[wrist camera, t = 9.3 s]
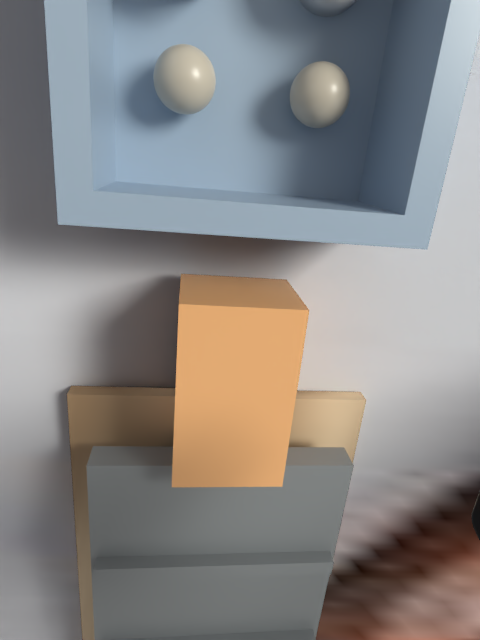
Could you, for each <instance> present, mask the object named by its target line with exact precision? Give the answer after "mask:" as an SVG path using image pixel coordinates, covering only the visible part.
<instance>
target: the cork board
mask: <svg viewBox="0 0 480 640" xmlns="http://www.w3.org/2000/svg"><path fill="white" fill-rule="evenodd" d="M67 404H68V419H69V435H70V451H71V467H72V483H73V499H74V515H75V531H76V547H77V562H78V578H79V594H80V610H81V626H82V640H95V637H94V616H93V595H92V573H91V552H90V531H89V509H88V488H87V467H86V466H87V463H88V460H89V457H90V453H91V450H92V447H93V446H163V447H173V438H174V413H175V388H149V387H103V386H71V387H70V389H69V391H68V393H67ZM365 404H366V399H365V398H364V396H363V395H362V393H361V392H334V391H297V394H296V400H295V407H294V413H293V420H292V426H291V433H290V439H289V446H288V447H344V448H345V450H346V452H347V454H348V456H349V458H350V459H351V461H352V463H353V458H354V454H355V449H356V445H357V440H358V436H359V431H360V426H361V422H362V417H363V413H364V408H365Z"/></svg>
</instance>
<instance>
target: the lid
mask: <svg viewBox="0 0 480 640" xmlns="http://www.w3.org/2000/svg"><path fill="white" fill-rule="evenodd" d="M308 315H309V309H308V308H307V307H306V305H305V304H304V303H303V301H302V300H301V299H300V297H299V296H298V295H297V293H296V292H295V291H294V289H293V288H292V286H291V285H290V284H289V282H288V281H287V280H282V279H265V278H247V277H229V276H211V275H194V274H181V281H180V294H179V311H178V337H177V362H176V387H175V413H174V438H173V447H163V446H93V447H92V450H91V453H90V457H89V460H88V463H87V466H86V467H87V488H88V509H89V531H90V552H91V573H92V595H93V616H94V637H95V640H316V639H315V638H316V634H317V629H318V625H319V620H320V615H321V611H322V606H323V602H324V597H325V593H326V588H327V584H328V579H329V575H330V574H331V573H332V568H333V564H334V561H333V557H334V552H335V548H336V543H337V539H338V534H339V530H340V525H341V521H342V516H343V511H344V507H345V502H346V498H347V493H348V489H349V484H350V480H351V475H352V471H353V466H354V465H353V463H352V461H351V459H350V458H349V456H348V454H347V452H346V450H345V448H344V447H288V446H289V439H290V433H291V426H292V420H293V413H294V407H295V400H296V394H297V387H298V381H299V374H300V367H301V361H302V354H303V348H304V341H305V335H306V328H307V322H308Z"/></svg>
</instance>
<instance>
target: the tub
mask: <svg viewBox="0 0 480 640" xmlns="http://www.w3.org/2000/svg"><path fill="white" fill-rule="evenodd" d="M44 9H45V25H46V41H47V58H48V74H49V90H50V106H51V122H52V139H53V155H54V171H55V187H56V203H57V220H58V224H59V225H74V226H89V227H103V228H118V229H133V230H148V231H162V232H177V233H192V234H207V235H221V236H236V237H251V238H266V239H280V240H295V241H310V242H324V243H339V244H354V245H369V246H383V247H398V248H413V249H428V245H429V240H430V236H431V232H432V228H433V224H434V220H435V216H436V211H437V207H438V203H439V199H440V195H441V191H442V187H443V182H444V178H445V174H446V170H447V166H448V162H449V158H450V154H451V149H452V145H453V141H454V137H455V133H456V129H457V125H458V120H459V116H460V112H461V108H462V104H463V100H464V96H465V91H466V87H467V83H468V79H469V75H470V71H471V67H472V62H473V58H474V54H475V50H476V46H477V42H478V38H479V34H480V0H44Z"/></svg>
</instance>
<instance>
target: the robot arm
mask: <svg viewBox="0 0 480 640" xmlns="http://www.w3.org/2000/svg"><path fill="white" fill-rule="evenodd" d="M472 523H473V527H474V529H475V531H476V534H477V536H478V538H479V540H480V491H479V494H478V497H477V500H476V503H475V505H474V508H473V511H472Z"/></svg>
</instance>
